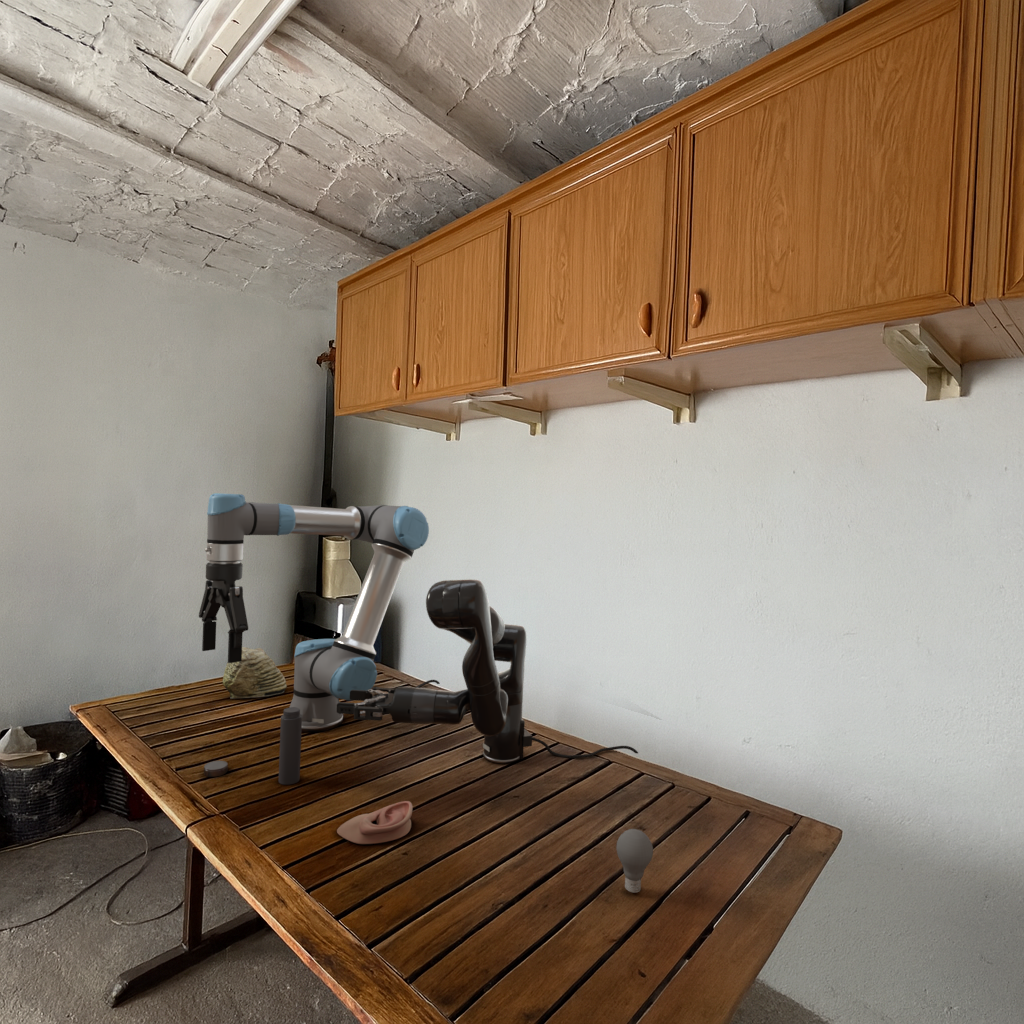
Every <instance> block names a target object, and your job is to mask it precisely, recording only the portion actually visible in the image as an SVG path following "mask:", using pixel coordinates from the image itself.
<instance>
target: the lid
mask: <svg viewBox="0 0 1024 1024" xmlns="http://www.w3.org/2000/svg"><path fill="white" fill-rule="evenodd" d="M228 770H229V764H228V762H227V761H225V760H213V761H210V762H207V763H205V764H204V766H203V775H204V776H205V777H209V778H215V777H220V776H223V775H225V774H227V772H229V771H228Z"/></svg>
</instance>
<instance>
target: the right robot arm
mask: <svg viewBox="0 0 1024 1024" xmlns="http://www.w3.org/2000/svg"><path fill="white" fill-rule="evenodd" d="M425 608H426V609H425V610H426V613H427V616H428V618H429V620H430V622H431V623H432V625H433V626H434V627H435V628H437V629H440V630H444V631H448V632H450V633H453V634H454V635H456V636H458V637H459V638H461V639H463V640H464V641H465V642H466V643H468V644H470V645H469V646H468V648H467V649H466V652H465V653H464V655H463V659H462V662H461V664H462V665H461V671H462V676H463V680H464V683H465V686H466V689H462V690H461V689H460V690H455V691H454V690H441V689H440V690H438V689H432V688H428V687H427V688H426V687H420V688H416V687H412V686H411V687H410V686H409V687H408V686H397V687H396V688H393V687H380V686H373V687H372V689H368V690H351V691H350V700H353V701H358V702H356V703H355V702H345V701H343V702H342V701H339V703H338V704H337V713H340V714H343V715H353V719H354V720H355V721H357V720H359V721H378V722H380V721H383V716H385V715H390V716H391V719H392V721H393V722H394V723H400V724H414V725H449V726H457V725H460V724H461V723H462V721H463V720H464V717H465V715H466V714H467V713H468V712H470V716H471V721H472V724H473V726H474V728H475V729H476V731H477V732H478V733H479V734H481V735H483V737H484V739H483V743H482V748H483V751H482V757H483V759H485V760H486V761H488V762H491V763H496V764H512V763H515V762H517V761H520V760H523V759H524V752H525V751H524V750H525V749H524V748H527V747H533V741H534V742H536V743H538V744H541V745H542V746H543V747H545V749H546V750H547V752H548V753H549V754H550V755H552V756H555V757H560V758H565V759H585V758H591V757H593V756H596V755H598V754H600V753H603V752H607V751H615V750H623V749H625V750H630V751H631V752H632V753H634V754H639V751H638V750H636V749H635V748H634V747H632V746H628V745H616V746H611V747H603V748H600V749H597V750H595V751H594V752H591V753H587V754H574V755H573V754H572V755H571V754H569V755H568V754H562V753H558V752H556V751H553V750H552V749H551V748H550V746H549V745H548V743H546V742H545V741H543V740H541V739H539V738H537V737H533V735H532V734H531V733H530V732H529V731H528V730H527V729H526V727H525V725H526V722H525V720H524V718H523V702H524V681H525V666H526V655H527V648H528V647H527V645H528V633H527V630H526V628H525V626H523V625H520V624H519V625H518V624H508V623H505V622H504V618H503V617H502V616H501V614H500V613H499V612H498V611H497V610H496V609H495V608H494V607H493V606H491V605H490V601H489V596H488V592H487V589H486V586H485V584H484V583H483V581H482V580H480V579H475V578H474V579H473V578H469V579H467V578H466V579H445V580H439V581H437V582H435V583H433V584H432V585H431V587H430V588H429V589H428V591H427V594H426V597H425ZM496 662H503V663H505V662H506V663H510V664H509V665H510V666H509V667H508V668H506V669H504V670H501V671H498V668H497V664H496ZM359 701H360V702H359ZM363 706H364V707H363Z"/></svg>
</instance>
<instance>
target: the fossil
mask: <svg viewBox="0 0 1024 1024" xmlns="http://www.w3.org/2000/svg"><path fill="white" fill-rule="evenodd" d="M222 676H223V677H222V685H223V687H224V688H225V690H226V691H228V693H229V698H230V699H250V698H264V697H271V696H275V695H281V694H284V693H285V691H286V689H287V687H288V686H287V680H286V678H285V676H284V674H283V673H282V672H281V669H279V668H278V667H277V665H276V663H275V662H274V660H273V659H272V658H271V657H270V656H269V655H268V654H267V653H266V652H265V650H264V649H263V648H260V647H258V648H251V647H247V646H246V647H245V646H242V661H240V662H234V663H228V661H227V663H226V666H225V668H224V671H223V675H222Z"/></svg>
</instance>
